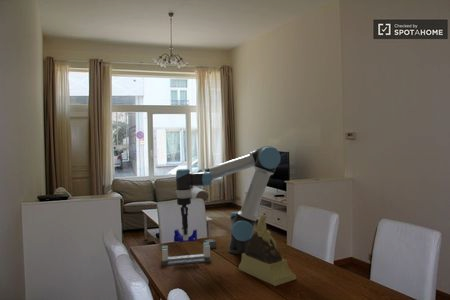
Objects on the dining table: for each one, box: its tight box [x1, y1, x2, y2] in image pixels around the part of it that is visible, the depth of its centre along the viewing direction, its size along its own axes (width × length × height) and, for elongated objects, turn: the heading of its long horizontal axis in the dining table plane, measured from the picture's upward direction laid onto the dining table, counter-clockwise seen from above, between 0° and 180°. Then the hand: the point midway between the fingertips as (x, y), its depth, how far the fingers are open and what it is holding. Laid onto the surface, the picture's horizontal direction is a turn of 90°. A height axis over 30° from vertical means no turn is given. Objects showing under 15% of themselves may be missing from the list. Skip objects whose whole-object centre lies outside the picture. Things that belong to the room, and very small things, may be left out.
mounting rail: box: [162, 253, 212, 267], centre depth 214 cm, size 26×12×2 cm, turn 99°
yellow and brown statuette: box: [238, 213, 297, 287], centre depth 188 cm, size 28×13×30 cm, turn 34°
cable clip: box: [173, 228, 198, 243], centre depth 214 cm, size 12×4×6 cm, turn 83°
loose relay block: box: [203, 238, 217, 250], centre depth 238 cm, size 5×6×4 cm
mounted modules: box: [161, 242, 211, 262], centre depth 214 cm, size 26×7×6 cm, turn 99°
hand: (185, 238), depth 214 cm, fingers closed on cable clip, 5 cm apart
